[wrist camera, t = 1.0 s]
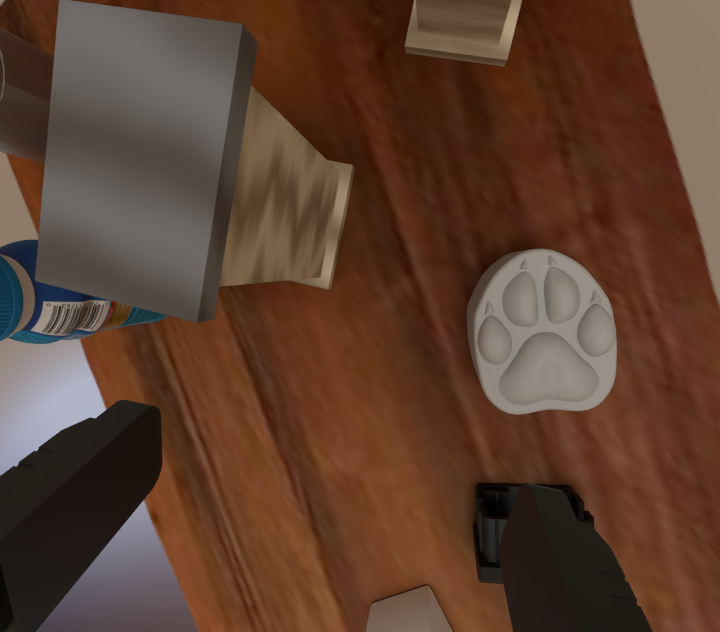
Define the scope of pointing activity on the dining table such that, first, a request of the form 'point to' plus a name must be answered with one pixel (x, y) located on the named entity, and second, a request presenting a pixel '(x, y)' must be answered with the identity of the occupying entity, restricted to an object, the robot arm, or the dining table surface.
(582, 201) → the dining table surface
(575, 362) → the lumpy-topped squat cylinder
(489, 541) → the end cap
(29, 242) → the beverage bottle
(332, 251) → the lower stand
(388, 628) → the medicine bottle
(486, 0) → the stand
